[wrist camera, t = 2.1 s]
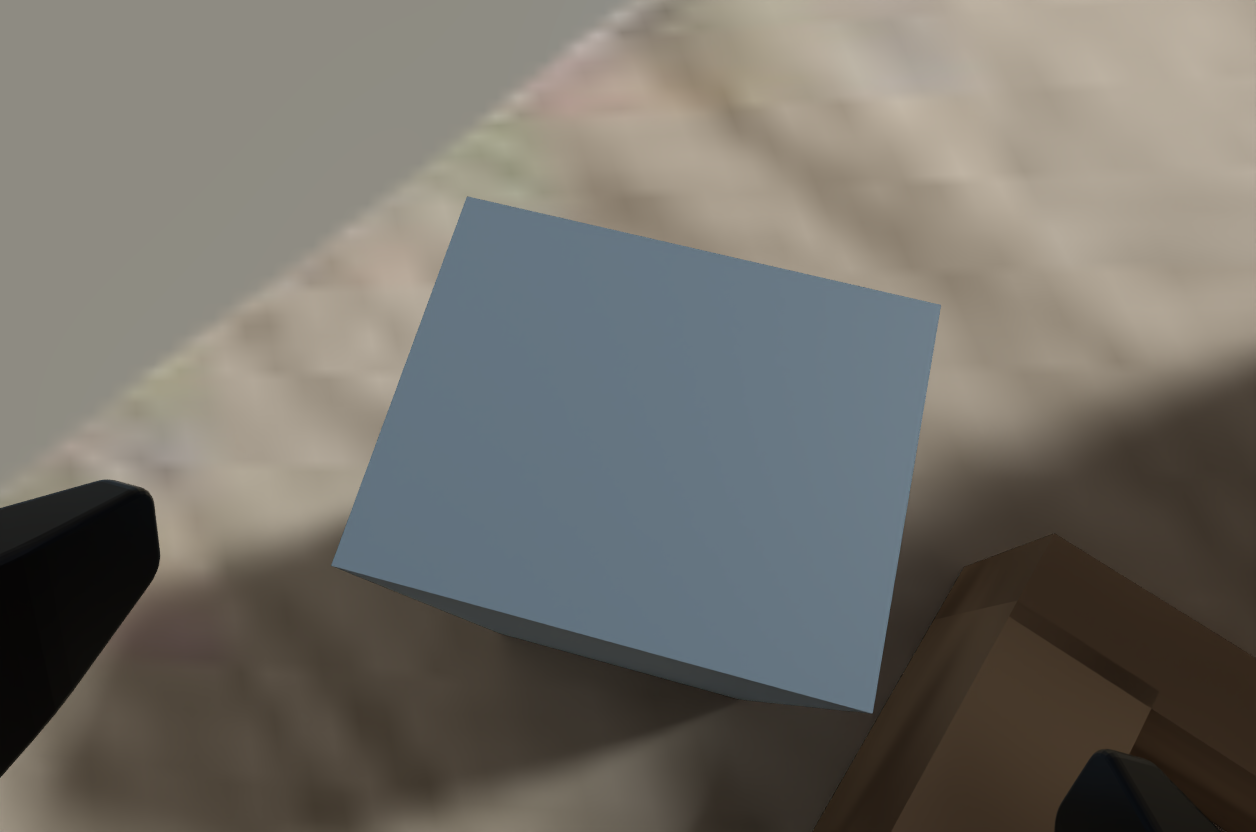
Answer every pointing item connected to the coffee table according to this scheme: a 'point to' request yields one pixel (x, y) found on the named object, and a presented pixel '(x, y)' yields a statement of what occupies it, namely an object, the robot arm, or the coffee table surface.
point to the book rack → (1051, 703)
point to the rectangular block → (652, 458)
